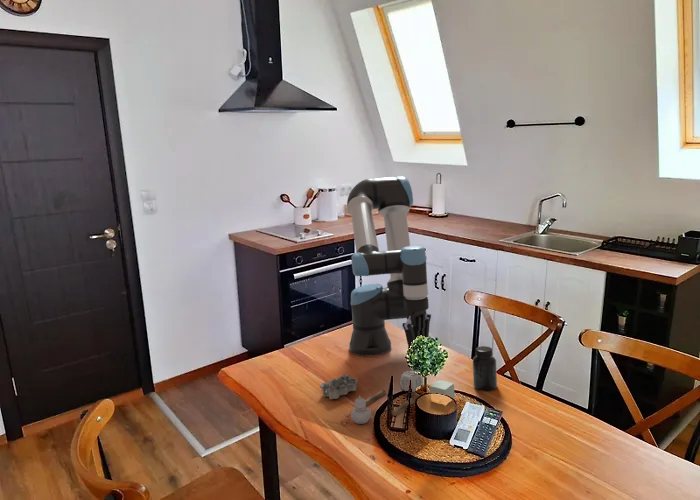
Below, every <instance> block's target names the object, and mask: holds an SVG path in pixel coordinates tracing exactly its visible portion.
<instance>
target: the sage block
mask: <svg viewBox="0 0 700 500" xmlns="http://www.w3.org/2000/svg"><path fill="white" fill-rule="evenodd" d="M430 393H438V394H443V395H448V396H450V397H452V398H453V399H454V400H453V401H455V399H456V395H455V383H454V382H450V381H446V380H442V379H441V380H440V379H438V380H437V381H435V382H433V383H432V384H431V385H429V394H430Z"/></svg>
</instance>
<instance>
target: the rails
mask: <svg viewBox="0 0 700 500" xmlns="http://www.w3.org/2000/svg"><path fill="white" fill-rule="evenodd" d="M384 395H386V389H382V390H380V391H377V392H376V393H375V394H373V395H371V396H370V397H368V398H367V399H364V400H365V402H366V407H367V406H369V405H371V404H372V403H374V402H375V401H377V400H378V399H379V398H381V397H383V396H384ZM409 399H410V406H412V405H413V404H414V403H416V398H415V397H411V398H409ZM409 399H408V400H409ZM408 400H406V401H404V402H403V403H402V404H400V405H399V406H397V407H396V408H393V409H392V410H391V416H393V417H394V416H395V417H396V416H397V415H398V414H401V412H403V411H405V410H406V409H407V408H408V407H407V406H408V404H409V402H408Z"/></svg>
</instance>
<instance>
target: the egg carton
mask: <svg viewBox="0 0 700 500" xmlns="http://www.w3.org/2000/svg"><path fill="white" fill-rule="evenodd" d="M358 381H359V379H356V377H352V376H351V375H348V374H346V373H344V374H343V375H341V376H340V377H337V378H334V379H331V380H329V381H328V382H323V383H321V384H320V386H319V389H322V390H321V391H322V396H323V397H324V398H326V397H329V400H334V399H340V396H343V395H344V396H345V395H346V396H347V394H348V393H349V392H354V391H357V388H358Z"/></svg>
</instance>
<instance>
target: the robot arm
mask: <svg viewBox="0 0 700 500" xmlns="http://www.w3.org/2000/svg"><path fill="white" fill-rule="evenodd" d="M411 186H412V185H411V183H410V181H409V180H408V178H407V177H406V176H397V175H396V176H388V177H387V176H386V177H379V178H378V177H376V178H367V179H363V180H361V181H359V182H358V183H357V184H356V185H354V186H353V188H352V189H351V190H350V192H349V194H348V197H347V201H346V206H347V212H348V213H349V215H350V216H351V223H352V230H353V238H354V246H355V252H356V253H352V254H351V267H352V273H353V276H355V277H370V276H378V275H390V279H389V280H388V281H387V282H386V287H384V286H383V285H382V284H380V283H367V284H363V285H360V286H358V287H355V288H354V289H353V290H351V293H350V306H351V315H352V316H351V317H352V320H351V321H352V332H351V337H350V342H349V351H350V352H351V353H352V354H354V355H357V356H363V357H365V356H367V357H369V356H378V355H383V354H386V353H387V352H389V351H390V350H391V349H392V342H391V339H390V337H389V334H388V332H387V329H386V325H385V323H386V321H389V320H401V319H406V322H403V323H402V324H401V325H402V328H403V330H404V333H405V339H406V343H407V346H408V349H409V348H410V345H411V342H412V341H413V340H415V339H416V337H417V336H420V335H422V336H425V337H430V335H429V334H430V322H431V319H432V314H430V313H428V312H427V310H428V309H429V297H428V295H429V289H428V288H429V287H428V276H427V273H428V272H427V254H426V248H425V246H419V245H411V241H410V235H409V234H410V233H409V232H410V231H409V226H408V225H409V224H408V217H407V216H408V215H407V214H408V213H409V212H410V210H411V209H410V208H411V207H412V206H413V204H414V194H413V191H412V187H411ZM376 209H378V212H379V215H380V216H382V217H383V219H384V220H383V221H384V231H385V238H386V247H387V250H379V244H378V238H377V234H376V227H375V222H374V217H373V212H372V211H373V210H376Z"/></svg>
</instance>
